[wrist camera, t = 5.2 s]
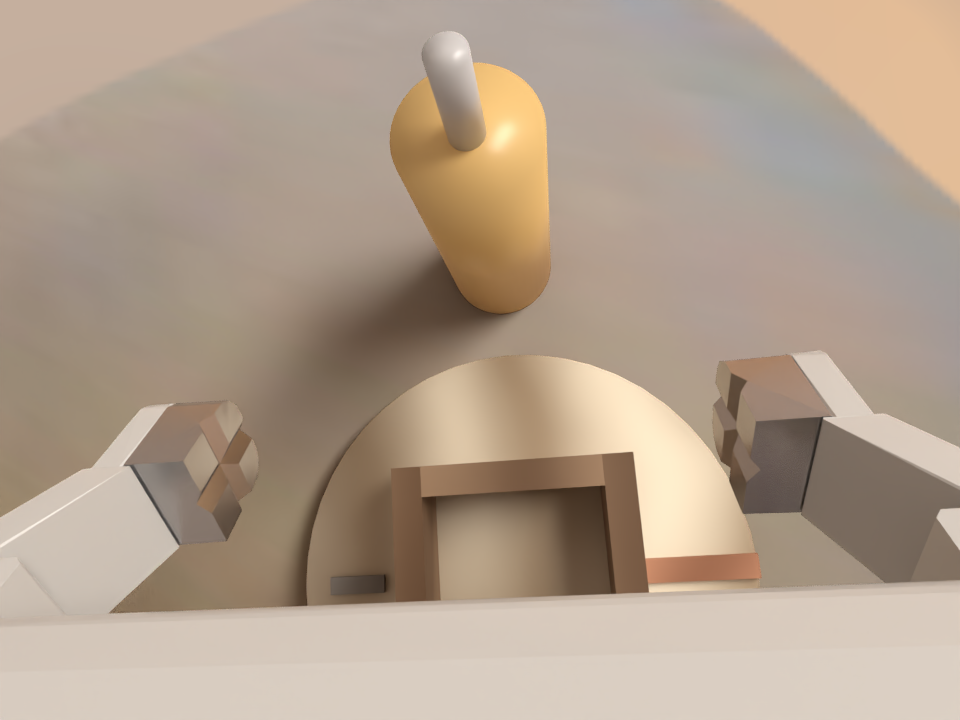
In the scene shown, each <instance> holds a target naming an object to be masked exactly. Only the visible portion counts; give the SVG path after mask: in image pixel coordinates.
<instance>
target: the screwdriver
mask: <svg viewBox="0 0 960 720" xmlns="http://www.w3.org/2000/svg"><path fill="white" fill-rule="evenodd" d="M422 61H423V64H424V67H425V70H426V73H427V77H426V78H424V79H423V80H422V81H420V82H419V83H418V84H416V85H415V86H414V87H413V88H412V89H411V90H410V91H409V93H408V94H407V95H406V96H405V98H404V99H403V100H402V102H401V104H400V105H399V107H398V109H397V111H396V113H395V115H394V119H393V122H392V125H391V131H390V150H391V155H392V159H393V162H394V165H395V167H396V170H397V171H398V173H399V175H400V177H401V179H402V181H403V183H404V185H405V187H406V189H407V191H408V193H409V195H410V196H411V198H412V200H413V202H414V204H415V206H416V208H417V210H418V212H419V214H420V216H421V218H422V219H423V221H424V223H425V225H426V227H427V229H428V231H429V233H430V235H431V237H432V239H433V241H434V242H435V244H436V246H437V248H438V250H439V252H440V254H441V256H442V258H443V260H444V262H445V264H446V265H447V267H448V269H449V271H450V273H451V275H452V277H453V279H454V281H455V283H456V285H457V287H458V289H459V290H460V292H461V294H462V295H463V296H464V297H465V299H466V300H467V301H468V302H469V303H471V304H472V305H474V306H475V307H477V308H479V309H481V310H483V311H486V312H490V313H497V314H506V313H512V312H515V311H518V310H521V309H523V308H525V307H527V306H528V305H530V304H531V303H532V302H534V301H535V300H536V299H537V298H538V297H539V296H540V294H541V293H542V292H543V290H544V288H545V287H546V285H547V282H548V280H549V276H550V269H551V262H550V231H549V200H548V169H547V139H546V120H545V114H544V111H543V108H542V105H541V103H540V101H539V99H538V97H537V95H536V94H535V92H534V91H533V89H532V88H531V87H530V86H529V85H528V84H527V83H526V82H525V81H524V80H523V79H521V78H520V77H519V76H517V75H516V74H514V73H512V72H511V71H509V70H506V69H504V68H502V67H499V66H495V65H491V64H485V63H473V62H472V57H471V52H470V48H469V44H468V42H467V40H466V39H465V38H464V37H463V36H462V35H461V34H459V33H457V32H453V31H444V32H440V33H437V34H435V35H433V36H432V37H431V38H429V39H428V40H427V42H426V43H425V45H424V47H423V49H422Z"/></svg>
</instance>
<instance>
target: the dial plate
mask: <svg viewBox="0 0 960 720" xmlns="http://www.w3.org/2000/svg"><path fill="white" fill-rule="evenodd" d="M759 578H761V571H760V564H759V558H758V553H755V549H754V545H753V540H752V535H751V532H750V529H749V526H748V523H747V520H746V517H745V515H744V514H742V511H741V509H740V507H739V504H738V502H737V499H736V497H735V494H734V492H733V490H732V487H731V485H730V482H729V479H728V477H727V475H726V474H725V472H724V470H723V469H722V467H721V466H720V464H719V463H718V461H717V460H716V458H715V457H714V455H713V454H712V452H711V451H710V449H709V448H708V447H707V446H706V445H705V443H704V442H703V441H702V440H701V439H700V438H699V437H698V435H697V434H696V433H695V432H694V431H693V430H692V428H691V427H690V426H689V425H688V424H687V423H686V422H685V421H683V420H682V419H681V418H680V417H679V416H678V415H677V414H676V413H675V412H673V411H672V410H671V409H670V408H669V407H668V406H667V405H666V404H664V403H663V402H661V401H660V400H658V399H657V398H655V397H654V396H653V395H651V394H650V393H648V392H647V391H645V390H644V389H643V388H641V387H639V386H637V385H635V384H633V383H631V382H629V381H628V380H626V379H624V378H622V377H620V376H618V375H616V374H613V373H611V372H608V371H605V370H603V369H600V368H597V367H595V366H592V365H589V364H585V363H581V362H577V361H572V360H568V359H564V358H557V357H548V356H538V355H517V356H502V357H495V358H489V359H482V360H477V361H474V362H470V363H467V364H463V365H460V366H457V367H453V368H451V369H449V370H446V371H444V372H442V373H439V374H437V375H435V376H432V377H430V378H428V379H426V380H425V381H423V382H421V383H419V384H418V385H416V386H414V387H413V388H411V389H409V390H408V391H406V392H404V393H403V394H402V395H401V396H399V397H398V398H397V399H395V400H394V401H393V402H392V403H390V404H389V405H388V406H387V407H385V408H384V409H383V410H382V411H381V412H380V413H379V414H378V415H377V416H376V417H375V418H374V419H373V420H372V421H371V422H370V423H369V424H368V425H367V426H366V427H365V428H364V429H363V430H362V432H361V433H360V434H359V436H358V437H357V438H356V439H355V441H354V442H353V443H352V445H351V446H350V447H349V448H348V450H347V451H346V453H345V455H344V456H343V458H342V460H341V461H340V463H339V465H338V466H337V468H336V470H335V471H334V473H333V475H332V477H331V479H330V482H329V484H328V486H327V489H326V491H325V493H324V495H323V498H322V500H321V503H320V506H319V510H318V513H317V516H316V520H315V523H314V526H313V530H312V536H311V542H310V548H309V553H308V564H307V583H306V590H307V605H308V606H314V605H339V604H364V603H389V602H414V601H439V600H464V599H489V598H515V597H541V596H568V595H595V594H621V593H648V592H675V591H700V590H724V589H748V588H760V586H759Z"/></svg>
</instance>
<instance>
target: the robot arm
mask: <svg viewBox="0 0 960 720" xmlns="http://www.w3.org/2000/svg"><path fill="white" fill-rule="evenodd" d="M716 385H717V387H718V389H719V392H720V394H721V397H720V398H719V399H718V400H717V402H716V403H715V404H714V405H713V419H712V424H713V435H714V441H715V445H716V449H717V452H718V455H719V457H720V460H721V462H723V463H724V464H726V465H727V466H729V467H730V468H731V471H730V480H729V482H730V485H731V487H732V490H733V492H734V494H735V497H736V499H737V502H738V504H739V507H740V509H741V511H742V514H753V513H789V512H802V513H801V515H802V516H803V517H805V518H806V519H807V520H808V521H810V522H811V523H812V524H813V525H815V526H816V527H817V528H818V529H820V530H821V531H822V532H823V533H824V534H826V535H827V536H828V537H829V538H831V539H832V540H833V541H834V542H836V543H837V544H838V545H839V546H841V547H842V548H843V549H844V550H846V551H847V552H848V553H849V554H850V555H852V556H853V557H854V558H855V559H857V560H858V561H859V562H860V563H862V564H863V565H864V566H865V567H867V568H868V569H869V570H870V571H871V572H873V573H874V574H875V575H876V576H878V577H879V578H880V579H881V580H883V581H884V582H885V583H871V584H846V585H820V586H796V587H772V588H748V589H724V590H700V591H675V592H648V593H621V594H595V595H568V596H541V597H515V598H489V599H464V600H439V601H414V602H389V603H364V604H339V605H314V606H289V607H264V608H239V609H213V610H188V611H163V612H137V613H112V614H108V613H109V612H110V611H111V610H112V609H113V608H114V607H115V606H117V605H118V604H119V603H120V602H121V601H122V600H123V599H124V598H125V597H126V596H127V595H128V594H130V593H131V592H132V591H133V590H134V589H135V588H136V587H137V586H138V585H139V584H140V583H141V582H142V581H144V580H145V579H146V578H147V577H148V576H149V575H150V574H151V573H152V572H153V571H154V570H155V569H156V568H158V567H159V566H160V565H161V564H162V563H163V562H164V561H165V560H166V559H167V558H168V557H169V556H171V555H172V554H173V553H174V552H175V551H176V550H177V549H178V548H179V545H184V544H196V543H209V542H221V541H227V539H228V537H229V535H230V533H231V531H232V529H233V527H234V525H235V523H236V521H237V519H238V517H239V515H240V513H241V511H242V510H241V507H240V505H239V502H238V501H239V500H240V499H242V498H243V497H244V496H245V495H247V494H248V493H249V492H251V491H252V489H253V486H254V484H255V482H256V480H257V476H258V467H259V459H258V453H257V449H256V446H255V444H254V442H253V439H252V438H251V437H249V436H248V435H247V434H245V433H244V432H242V431H241V430H240V427H241V424H242V421H243V417H242V415H241V413H240V411H239V409H238V407H237V405H236V404H235V403H232V402H230V401H228V400H226V401H209V402H192V403H176V404H162V405H150V406H147V407H144V408H142V409H140V410H139V412H138V413H137V414H136V415H135V416H134V418H133V419H132V420H131V421H130V422H129V424H128V425H127V426H126V427H125V429H124V430H123V431H122V432H121V433H120V435H119V436H118V437H117V438H116V439H115V441H114V442H113V443H112V444H111V445H110V447H109V448H108V449H107V450H106V451H105V453H104V454H103V455H102V456H101V457H100V459H99V460H98V461H97V462H96V463H95V465H94V466H93V467H92V468H91V469H82V470H80V471H79V472H77V473H75V474H74V475H72V476H70V477H69V478H67V479H65V480H63V481H62V482H60V483H58V484H57V485H55V486H53V487H51V488H50V489H48V490H46V491H45V492H43V493H41V494H40V495H38V496H36V497H34V498H33V499H31V500H29V501H28V502H26V503H24V504H22V505H21V506H19V507H17V508H16V509H14V510H12V511H11V512H9V513H7V514H5V515H4V516H2V517H0V720H960V448H959V447H957V446H955V445H953V444H950V443H948V442H946V441H944V440H942V439H940V438H937V437H935V436H933V435H931V434H929V433H926V432H924V431H922V430H920V429H918V428H915V427H913V426H911V425H909V424H907V423H905V422H902V421H900V420H898V419H896V418H894V417H891V416H889V415H887V414H874V413H873V412H872V411H871V410H870V408H869V407H868V406H867V404H866V403H865V402H864V401H863V399H862V398H861V397H860V396H859V394H858V393H857V392H856V391H855V389H854V388H853V387H852V385H851V384H850V383H849V382H848V380H847V379H846V378H845V377H844V375H843V374H842V373H841V371H840V370H839V369H838V368H837V366H836V365H835V364H834V363H833V361H832V360H831V359H830V357H829V356H828V355H827V354H826V353H824V352H822V351H812V352H803V353H794V354H786V355H782V356H771V357H761V358H750V359H739V360H728V361H720V362H719V365H718V368H717V374H716Z"/></svg>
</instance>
